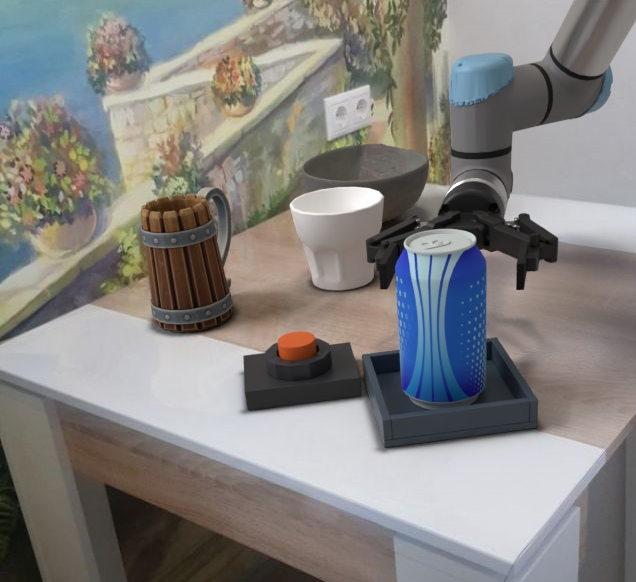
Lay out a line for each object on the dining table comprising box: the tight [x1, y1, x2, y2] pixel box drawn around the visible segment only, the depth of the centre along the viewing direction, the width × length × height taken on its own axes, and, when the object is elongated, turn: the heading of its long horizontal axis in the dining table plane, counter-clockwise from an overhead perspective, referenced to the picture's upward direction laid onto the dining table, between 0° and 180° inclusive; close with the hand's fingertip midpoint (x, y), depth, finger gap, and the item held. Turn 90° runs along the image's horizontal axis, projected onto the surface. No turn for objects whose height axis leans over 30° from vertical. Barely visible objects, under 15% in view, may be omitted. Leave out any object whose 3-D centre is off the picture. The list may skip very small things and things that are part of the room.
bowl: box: [300, 143, 430, 224], centre depth 140 cm, size 20×20×10 cm
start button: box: [277, 330, 317, 361], centre depth 93 cm, size 4×4×2 cm
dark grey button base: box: [243, 337, 363, 411], centre depth 94 cm, size 12×9×4 cm
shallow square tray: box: [361, 336, 539, 448], centre depth 88 cm, size 15×15×3 cm
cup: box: [289, 187, 384, 292], centre depth 119 cm, size 12×12×11 cm
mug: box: [140, 186, 234, 333], centre depth 113 cm, size 16×11×15 cm
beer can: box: [394, 229, 488, 410], centre depth 85 cm, size 8×8×16 cm
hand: (450, 277), depth 87 cm, fingers open, 13 cm apart
